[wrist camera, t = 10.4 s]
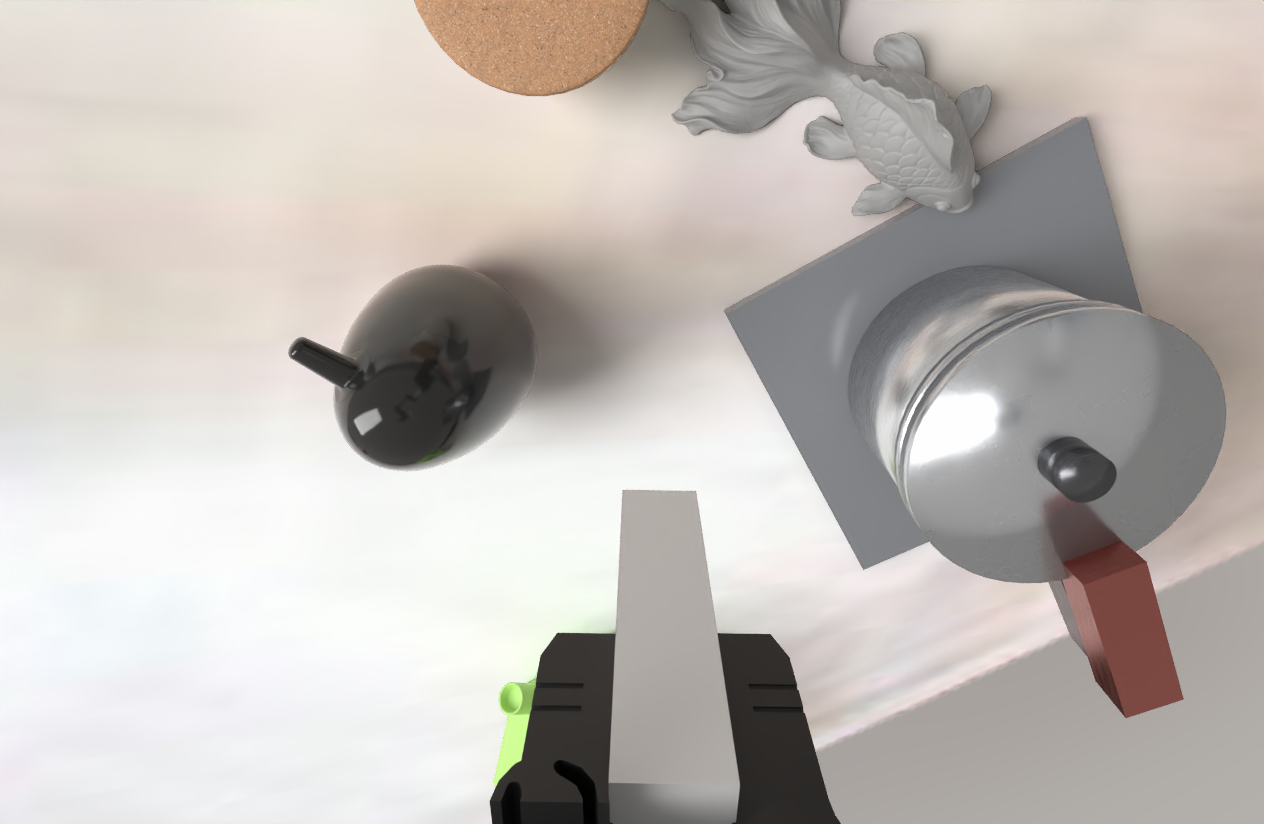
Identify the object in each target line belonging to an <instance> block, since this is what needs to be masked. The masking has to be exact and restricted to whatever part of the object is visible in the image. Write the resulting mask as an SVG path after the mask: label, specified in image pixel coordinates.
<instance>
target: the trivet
mask: <svg viewBox="0 0 1264 824" xmlns="http://www.w3.org/2000/svg"><path fill="white" fill-rule="evenodd" d="M976 173H977V174H978V175H979V176H980V178H981V180H980V182H979V184H978V185H976V187H975V188H974V189H973V203H972V205H971V207H970V208H969V209H967V210H965V211H963V212H960V213H949V212H942V211H939V210H937V209H934V208H930V207H927V206H925V205H922V204H920V203H919V204H917V205H915V206H913V207H911V208H909V209H908V210H906V211H904V212H902V213H900V214H898V215H897V216H895V217H893V218H891V219H889V220H887V221H886V222H884V223H882V224H880V225H878V226H877V227H875V228H873V229H871V230H869V231H867V232H866V233H864V234H862V235H860V236H858V237H856V238H855V239H853V240H851V241H849V242H847V243H845V244H844V245H842V246H840V247H838V248H836V249H835V250H833V251H831V252H829V253H827V254H825V255H824V256H822V257H820V258H818V259H816V260H814V261H813V262H811V263H809V264H807V265H805V266H803V267H802V268H800V269H798V270H796V271H794V272H793V273H791V274H789V275H787V276H785V277H783V278H782V279H780V280H778V281H776V282H774V283H772V284H771V285H769V286H767V287H765V288H763V289H761V290H760V291H758V292H756V293H754V294H752V295H751V296H749V297H747V298H745V299H743V300H741V301H740V302H738V303H736V304H734V305H732V306H730V307H729V308H727V309H725V310H724V311H725V314H726V316H727V317H728V319H729V321H730V323H731V325H732V327H733V329H734V330H735V332H736V334H737V336H738V338H739V340H740V342H741V343H742V345H743V347H744V349H745V351H746V353H747V355H748V356H749V358H750V360H751V362H752V364H753V366H754V368H755V369H756V371H757V373H758V375H759V377H760V379H761V381H762V382H763V384H764V386H765V388H766V390H767V392H768V394H769V395H770V397H771V399H772V401H773V403H774V405H775V407H776V408H777V410H778V412H779V414H780V416H781V418H782V420H783V421H784V423H785V425H786V427H787V429H788V431H789V433H790V434H791V436H792V438H793V440H794V442H795V444H796V446H797V447H798V449H799V451H800V453H801V455H802V457H803V459H804V460H805V462H806V464H807V466H808V468H809V470H810V471H811V473H812V475H813V477H814V479H815V481H816V483H817V484H818V486H819V488H820V490H821V492H822V494H823V496H824V497H825V499H826V501H827V503H828V505H829V507H830V509H831V510H832V512H833V514H834V516H835V518H836V520H837V522H838V523H839V525H840V527H841V529H842V531H843V533H844V535H845V536H846V538H847V540H848V542H849V544H850V546H851V548H852V549H853V551H854V553H855V555H856V557H857V559H858V561H859V562H860V564H861V566H862V568H863V570H864V569H867V568H869V567H871V566H873V565H876V564H878V563H880V562H883V561H885V560H887V559H890V558H892V557H894V556H896V555H899V554H901V553H903V552H906V551H908V550H910V549H913V548H915V547H917V546H919V545H922V544H924V543H926V542H929V540H928V539H927V537H926V536H925V535H924V533H923V532H922V530H921V529H920V527H919V526H918V525H917V523H916V522H915V520H914V519H913V517H912V516H911V514H910V513H909V511H908V509H907V508H906V506H905V504H904V502H903V500H902V497H901V495H900V492H899V490H898V486H897V485H896V483H895V482H894V480H893V479H892V478H891V476H890V475H889V473H888V472H887V470H886V469H885V468H884V466H883V465H882V463H881V462H880V460H879V459H878V458H877V456H876V455H875V453H874V452H873V451H872V449H871V448H870V446H869V445H868V443H867V442H866V441H865V439H864V438H863V436H862V435H861V433H860V431H859V430H858V428H857V426H856V424H855V422H854V419H853V417H852V414H851V410H850V405H849V399H848V378H849V372H850V367H851V362H852V359H853V356H854V353H855V350H856V348H857V346H858V344H859V342H860V340H861V338H862V336H863V334H864V333H865V331H866V330H867V328H868V327H869V325H870V323H871V322H872V321H873V320H874V318H875V317H876V316H877V315H878V314H879V312H880V311H881V310H882V309H883V308H884V307H885V306H886V305H887V304H889V303H890V302H891V301H892V300H893V299H894V298H895V297H897V296H898V295H899V294H901V293H902V292H903V291H905V290H906V289H908V288H909V287H911V286H913V285H914V284H916V283H918V282H919V281H921V280H924V279H926V278H928V277H930V276H932V275H935V274H938V273H941V272H944V271H947V270H950V269H955V268H961V267H966V266H980V265H983V266H997V267H1002V268H1007V269H1012V270H1015V271H1017V272H1020V273H1023V274H1025V275H1028V276H1031V277H1033V278H1036V279H1038V280H1041V281H1043V282H1046V283H1048V284H1051V285H1053V286H1056V287H1058V288H1061V289H1063V290H1066V291H1068V292H1071V293H1073V294H1076V295H1078V296H1081V297H1083V298H1086V299H1088V300H1098V301H1103V302H1108V303H1113V304H1118V305H1121V306H1123V307H1126V308H1129V309H1132V310H1134V311H1137V312H1140V313H1142V310H1141V306H1140V303H1139V299H1138V296H1137V292H1136V289H1135V285H1134V282H1133V278H1132V275H1131V271H1130V268H1129V264H1128V261H1127V258H1126V254H1125V251H1124V247H1123V244H1122V240H1121V237H1120V233H1119V230H1118V226H1117V223H1116V219H1115V216H1114V212H1113V209H1112V205H1111V202H1110V198H1109V195H1108V191H1107V188H1106V184H1105V181H1104V177H1103V174H1102V170H1101V167H1100V163H1099V160H1098V156H1097V153H1096V149H1095V146H1094V142H1093V139H1092V135H1091V132H1090V128H1089V125H1088V121H1087V118H1074V119H1072V120H1070V121H1068V122H1066V123H1065V124H1063V125H1061V126H1059V127H1057V128H1055V129H1054V130H1052V131H1050V132H1048V133H1046V134H1045V135H1043V136H1041V137H1039V138H1037V139H1035V140H1034V141H1032V142H1030V143H1028V144H1026V145H1024V146H1023V147H1021V148H1019V149H1017V150H1015V151H1013V152H1012V153H1010V154H1008V155H1006V156H1004V157H1003V158H1001V159H999V160H997V161H995V162H993V163H992V164H990V165H988V166H986V167H984V168H982V169H981V170H979V171H977V172H976Z"/></svg>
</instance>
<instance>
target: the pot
mask: <svg viewBox="0 0 1264 824" xmlns="http://www.w3.org/2000/svg"><path fill="white" fill-rule="evenodd" d="M1072 304H1103V305H1112V306H1119V307H1123V306H1121V305H1118V304H1113V303H1108V302H1103V301H1098V300H1088V299H1086V298H1083V297H1081V296H1078V295H1076V294H1073V293H1071V292H1068V291H1066V290H1063V289H1061V288H1058V287H1056V286H1053V285H1051V284H1048V283H1046V282H1043V281H1041V280H1038V279H1036V278H1033V277H1031V276H1028V275H1025V274H1023V273H1020V272H1017V271H1015V270H1012V269H1007V268H1002V267H997V266H983V265H980V266H966V267H961V268H955V269H950V270H947V271H944V272H941V273H938V274H935V275H932V276H930V277H928V278H926V279H924V280H921V281H919V282H918V283H916V284H914V285H913V286H911V287H909V288H908V289H906V290H905V291H903V292H902V293H901V294H899V295H898V296H897V297H895V298H894V299H893V300H892V301H891V302H890V303H889V304H887V305H886V306H885V307H884V308H883V309H882V310H881V311H880V312H879V314H878V315H877V316H876V317H875V318H874V320H873V321H872V322H871V323H870V325H869V327H868V328H867V330H866V331H865V333H864V334H863V336H862V338H861V340H860V342H859V344H858V346H857V348H856V350H855V353H854V356H853V359H852V362H851V367H850V372H849V378H848V399H849V405H850V410H851V414H852V417H853V419H854V422H855V424H856V426H857V428H858V430H859V431H860V433H861V435H862V436H863V438H864V439H865V441H866V442H867V443H868V445H869V446H870V448H871V449H872V451H873V452H874V453H875V455H876V456H877V458H878V459H879V460H880V462H881V463H882V465H883V466H884V468H885V469H886V470H887V472H888V473H889V475H890V476H891V478H892V479H893V480H894V482H895V483H896V485H897V486H898V490H899V492H900V495H901V497H902V500H903V502H904V504H905V506H906V508H907V509H908V507H907V504H906V501H905V498H904V495H903V492H902V486H901V480H900V456H901V449H902V442H903V439H904V436H905V432H906V429H907V425H908V423H909V421H910V419H911V416H912V414H913V412H914V410H915V407H916V406H917V404H918V402H919V401H920V399H921V397H922V396H923V394H924V392H925V391H926V389H927V388H928V387H929V386H930V384H931V383H932V382H933V380H934V379H935V378H936V377H937V375H938V374H939V373H940V372H941V371H942V370H943V369H944V368H945V367H946V366H947V365H948V364H949V363H950V362H951V361H952V360H953V359H954V358H955V357H956V356H957V355H958V354H960V353H961V352H962V351H963V350H964V349H966V348H967V347H968V346H969V345H970V344H972V343H973V342H975V341H977V340H978V339H980V338H981V337H983V336H984V335H986V334H987V333H989V332H990V331H992V330H994V329H996V328H998V327H1000V326H1002V325H1004V324H1006V323H1008V322H1010V321H1012V320H1015V319H1017V318H1020V317H1022V316H1025V315H1028V314H1030V313H1034V312H1037V311H1041V310H1045V309H1049V308H1052V307H1059V306H1066V305H1072ZM1123 308H1126V307H1123ZM1126 309H1129V308H1126ZM1130 310H1132V309H1130ZM908 511H909V509H908ZM909 513H910V511H909ZM910 514H911V513H910ZM911 516H912V515H911ZM912 517H913V516H912ZM913 519H914V518H913ZM1049 585H1050V587H1051V589H1052V592H1053V594H1054V597H1055V599H1056V602H1057V604H1058V606H1059V609H1060V611H1061V614H1062V616H1063V619H1064V621H1065V624H1066V626H1067V628H1068V631H1069V633H1070V636H1071V637H1072V639H1073V640H1074V641H1075V642H1076V643H1077V645H1078V646H1079V647H1080V648H1081V649H1082V651H1083V652H1084V653H1085V654H1086V655H1087V653H1086V650H1085V647H1084V644H1083V641H1082V638H1081V635H1080V632H1079V629H1078V626H1077V623H1076V620H1075V618H1074V615H1073V612H1072V609H1071V606H1070V603H1069V600H1068V597H1067V594H1066V591H1065V588H1064V585H1063V582H1062V580H1059V581H1051V582H1049ZM1087 657H1088V656H1087Z"/></svg>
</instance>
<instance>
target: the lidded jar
mask: <svg viewBox="0 0 1264 824" xmlns="http://www.w3.org/2000/svg"><path fill="white" fill-rule="evenodd" d="M414 2H415V4H416V7H417V10H418V12H419V14H420V16H421V17H422V19H423V21H424V23H425V25H426V27H427V29H428V30H429V32H430V33H431V35H432V36H433V37H434V39H435V40H436V41H437V43H438V44H439V46H440V47H441V48H442V49H443V50H444V51H445V52H446V53H447V55H448V56H449V57H450V58H451V59H452V60H453V61H454V62H455V63H456V64H457V65H459V66H460V67H461V68H463V69H464V70H465V71H467V72H468V73H469V74H470V75H472V76H473V77H475V78H477V79H479V80H480V81H482V82H484V83H486V84H488V85H490V86H492V87H495V88H498V89H501V90H503V91H506V92H509V93H515V94H520V95H526V96H549V95H555V94H561V93H565V92H568V91H571V90H574V89H577V88H580V87H582V86H584V85H586V84H587V83H589V82H591V81H593V80H594V79H596V78H598V77H599V76H601V75H602V74H603V73H604V72H605V71H607V70H608V69H609V68H610V67H612V66H613V64H614V63H615V62H616V61H617V60H618V59H619V58H620V57H621V55H622V54H623V53H624V52H625V51H626V49H627V48H628V46H629V44H630V43H631V41H632V40H633V38H634V37H635V35H636V34H637V31H638V29H639V27H640V25H641V23H642V20H643V18H644V16H645V13H646V10H647V7H648V3H649V0H414Z"/></svg>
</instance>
